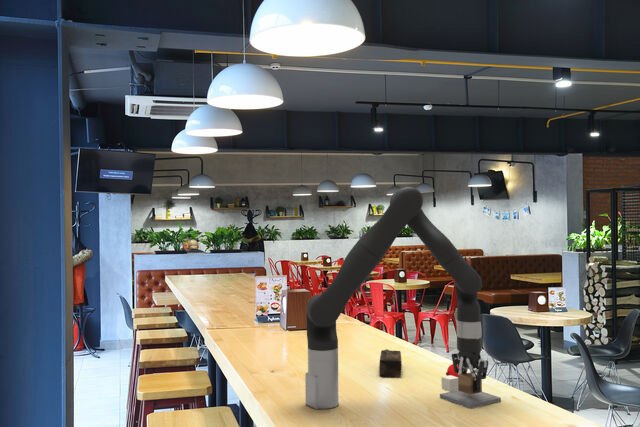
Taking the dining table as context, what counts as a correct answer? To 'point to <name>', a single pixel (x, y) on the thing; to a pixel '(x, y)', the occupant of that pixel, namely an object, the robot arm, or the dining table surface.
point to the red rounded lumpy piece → (451, 371)
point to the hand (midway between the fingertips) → (469, 389)
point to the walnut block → (467, 383)
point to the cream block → (450, 383)
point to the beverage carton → (390, 364)
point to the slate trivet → (470, 398)
